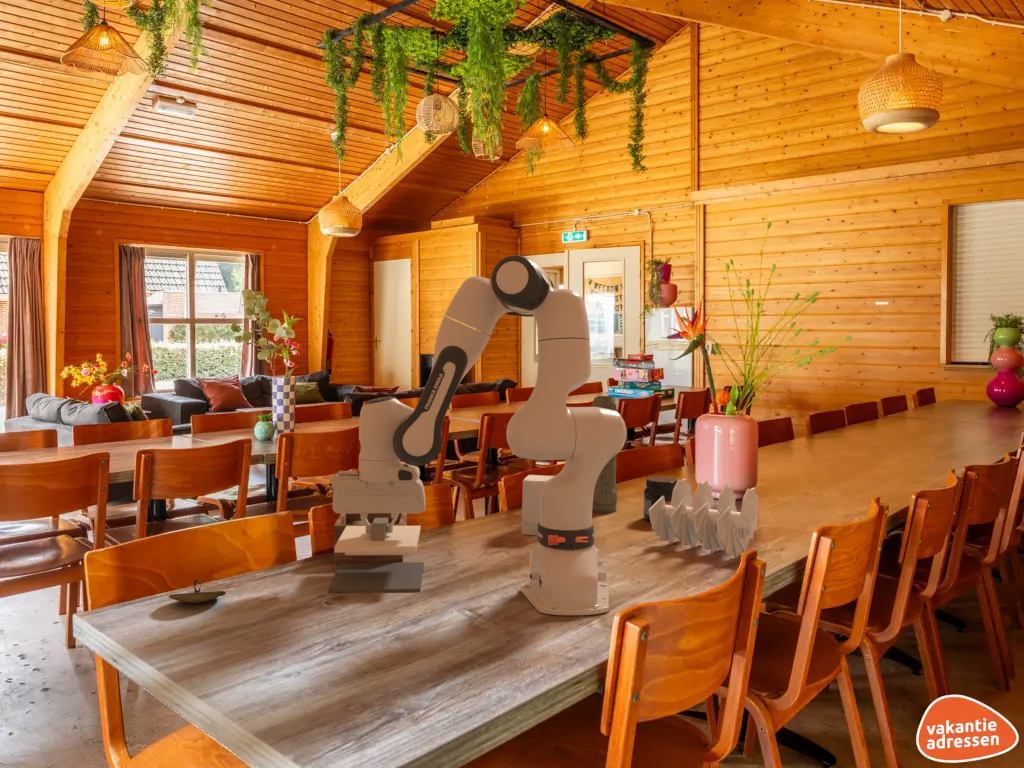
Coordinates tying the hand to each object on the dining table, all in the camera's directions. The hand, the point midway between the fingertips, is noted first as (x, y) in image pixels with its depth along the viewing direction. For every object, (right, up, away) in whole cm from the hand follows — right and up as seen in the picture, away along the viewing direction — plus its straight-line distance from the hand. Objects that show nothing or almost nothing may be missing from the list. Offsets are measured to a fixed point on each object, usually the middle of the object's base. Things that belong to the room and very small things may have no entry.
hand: (379, 532), depth 176 cm
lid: (-33, -11, -18) cm, 39 cm away
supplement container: (+73, -7, +57) cm, 93 cm away
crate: (-5, -9, +19) cm, 21 cm away
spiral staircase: (+78, -9, +26) cm, 83 cm away
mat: (0, -10, 0) cm, 10 cm away
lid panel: (0, -3, 0) cm, 3 cm away
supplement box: (+37, -8, +42) cm, 56 cm away
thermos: (+57, -6, +69) cm, 90 cm away
